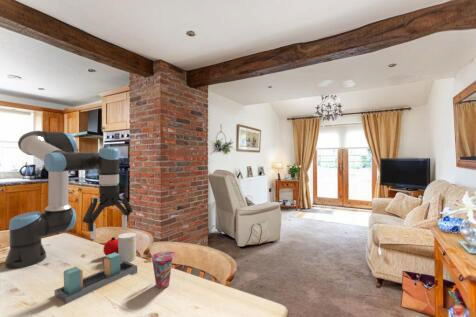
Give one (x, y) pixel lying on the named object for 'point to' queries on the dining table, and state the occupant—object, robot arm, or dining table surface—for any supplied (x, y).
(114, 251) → the ornament
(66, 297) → the rail
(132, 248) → the cup
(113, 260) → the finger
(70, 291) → the block
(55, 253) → the dining table surface
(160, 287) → the cup
